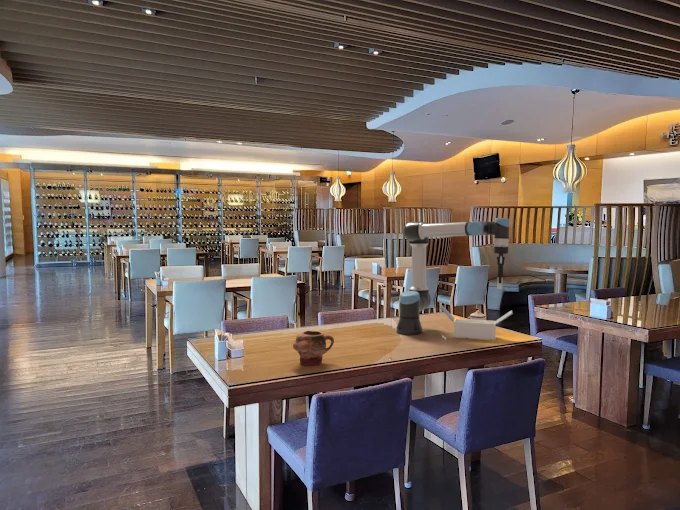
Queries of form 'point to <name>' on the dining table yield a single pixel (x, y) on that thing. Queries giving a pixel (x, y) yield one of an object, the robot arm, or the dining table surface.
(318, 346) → the brown sculpted mug
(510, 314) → the flap
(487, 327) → the carton
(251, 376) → the dining table surface
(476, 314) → the teacup with lid
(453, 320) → the flap
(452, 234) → the robot arm
